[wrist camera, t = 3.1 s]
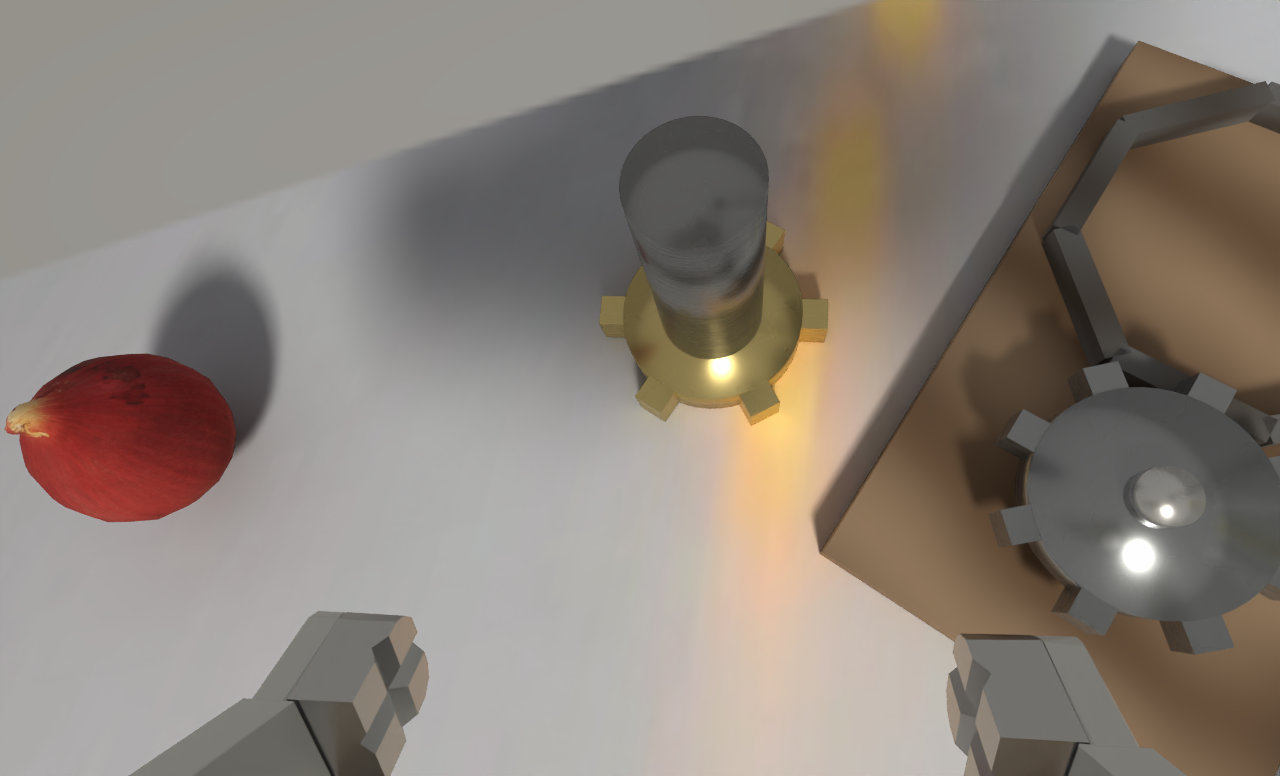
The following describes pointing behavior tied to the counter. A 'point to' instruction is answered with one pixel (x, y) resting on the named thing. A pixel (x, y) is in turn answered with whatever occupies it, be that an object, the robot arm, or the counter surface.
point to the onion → (126, 437)
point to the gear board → (1149, 357)
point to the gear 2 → (1146, 506)
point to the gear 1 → (707, 273)
